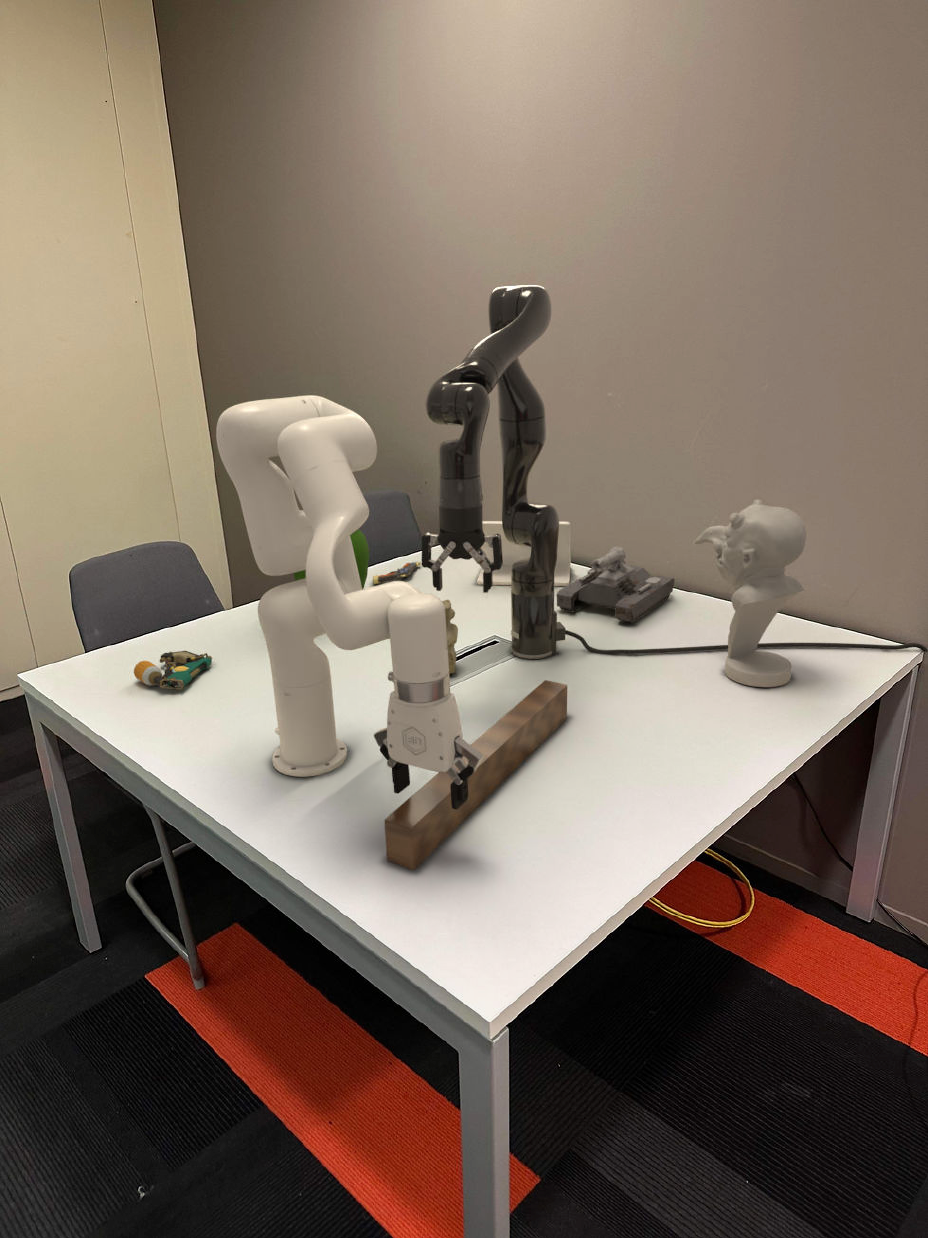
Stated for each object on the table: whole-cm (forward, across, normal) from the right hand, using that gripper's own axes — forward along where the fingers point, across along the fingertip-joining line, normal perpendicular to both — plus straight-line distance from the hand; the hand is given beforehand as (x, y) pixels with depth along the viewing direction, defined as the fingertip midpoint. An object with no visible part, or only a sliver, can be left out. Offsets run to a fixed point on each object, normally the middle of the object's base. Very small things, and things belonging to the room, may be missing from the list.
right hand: (462, 590), depth 153 cm
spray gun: (+24, -64, +8) cm, 69 cm away
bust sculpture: (+24, +52, +26) cm, 63 cm away
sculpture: (+24, -8, +18) cm, 31 cm away
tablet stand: (+24, +1, +85) cm, 88 cm away
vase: (+24, -42, +49) cm, 69 cm away
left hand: (+17, +3, -41) cm, 45 cm away
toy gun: (+24, -35, +81) cm, 91 cm away
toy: (+24, +27, +63) cm, 72 cm away
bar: (+24, +8, -23) cm, 35 cm away
